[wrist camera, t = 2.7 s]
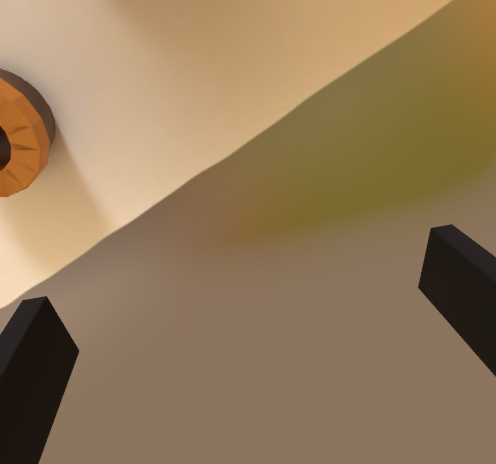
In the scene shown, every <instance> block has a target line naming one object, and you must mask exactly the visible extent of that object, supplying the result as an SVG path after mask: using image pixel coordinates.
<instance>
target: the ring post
mask: <svg viewBox="0 0 496 464" xmlns="http://www.w3.org/2000/svg"><path fill="white" fill-rule="evenodd" d="M0 78H1V79H3V80H4V81H5V82H7V83H8V84H10V85H11V86H12V87H14V88H15V89H17V90H18V91H19V92H21V93H22V94H23V95H24V96H25V97H26V98H27V100H28V101H29V102H30V104H31V105H32V106H33V107H34V109H35V110H36V111H37V113H38V114H39V115H40V116H41V118H42V120H43V123H44V126H45V129H46V132H47V135H48V138H49V141H50V145H51V144H52V142H53V139H54V135H55V123H54V118H53V115H52V112H51V110H50V108H49V106H48V104H47V103H46V101H45V100H44V98H43V97H42V96H41V95H40V93H39V92H38V91H37V90H36V89H35V88H34V87H33V86H31V85H30V84H29V83H28V82H26V81H25V80H23V79H22V78H20V77H18V76H17V75H15V74H13V73H10V72H8V71H5V70H2V69H0ZM49 147H50V146H49ZM10 160H11V144H10V142H9V139H8V137H7V134H6V132H5V131H4V130H3V128H2V127H1V126H0V165H4V164H6V163H8V162H9V161H10Z"/></svg>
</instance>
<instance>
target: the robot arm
mask: <svg viewBox="0 0 496 464" xmlns="http://www.w3.org/2000/svg"><path fill="white" fill-rule="evenodd" d="M418 288H419V289H420V290H421V291H422V293H423V294H424V295H425V296H426V297H427V298H428V299H429V301H430V302H431V303H432V304H433V305H434V306H435V307H436V309H437V310H438V311H439V312H440V313H441V314H442V315H443V317H444V318H445V319H446V320H447V321H448V322H449V323H450V325H451V326H452V327H453V328H454V329H455V330H456V332H457V333H458V334H459V335H460V336H461V337H462V338H463V340H464V341H465V342H466V343H467V344H468V345H469V347H471V349H472V350H473V351H474V352H475V353H476V355H477V356H478V357H479V358H480V359H481V360H482V361H483V362H484V364H485V365H486V366H487V367H488V368H489V369H490V371H491V372H492V373H493V374H494V375H495V376H496V257H495V256H493V255H492V254H491V253H489V252H488V251H487V250H485V249H484V248H483V247H481V246H480V245H478V244H477V243H476V242H475V241H473V240H472V239H471V238H469V237H468V236H467V235H465V234H464V233H463V232H461V231H460V230H459V229H457V228H456V227H454V226H453V225H452V224H451V225H446V226H441V227H435V228H431V230H430V235H429V239H428V244H427V249H426V253H425V258H424V263H423V267H422V272H421V277H420V281H419V286H418ZM78 354H79V349H78V348H77V346H76V344H75V343H74V341H73V339H72V338H71V336H70V334H69V333H68V331H67V329H66V328H65V326H64V324H63V323H62V321H61V319H60V318H59V316H58V314H57V313H56V311H55V309H54V308H53V306H52V304H51V303H50V301H49V299H48V298H47V296H45V297H39V298H33V299H28V300H23V301H22V302H21V304H20V305H19V307H18V308H17V310H16V311H15V313H14V314H13V316H12V318H11V319H10V321H9V322H8V324H7V325H6V327H5V329H4V330H3V332H2V333H1V335H0V464H38V463H39V460H40V458H41V455H42V452H43V450H44V447H45V444H46V441H47V438H48V436H49V433H50V430H51V428H52V425H53V422H54V419H55V417H56V414H57V411H58V408H59V406H60V403H61V400H62V397H63V395H64V392H65V389H66V386H67V383H68V381H69V378H70V375H71V373H72V370H73V367H74V364H75V361H76V359H77V356H78Z"/></svg>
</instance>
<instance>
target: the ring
mask: <svg viewBox="0 0 496 464" xmlns="http://www.w3.org/2000/svg"><path fill="white" fill-rule="evenodd" d="M0 126H1V127H2V128H3V130H4V131H5V132H6V134H7V137H8V139H9V142H10V144H11V160H10V161H9V162H8V163H6V164H4V165H0V197H8V196H10V195H12V194H14V193H17V192H19V191H21V190H23V189H25V188H27V187H28V186H29V185H30V184H31V183H32V182H33V181H34V180H35V179H36V177H37V176H38V175H39V173H40V172H41V171H42V169H43V168H44V167H45V165H46V164H47V162H48V155H49V146H50V141H49V138H48V135H47V132H46V129H45V126H44V123H43V120H42V118H41V116H40V115H39V114H38V113H37V111H36V110H35V109H34V107H33V106H32V105H31V104H30V102H29V101H28V100H27V98H26V97H25V96H24V95H23V94H22V93H21V92H19V91H18V90H17V89H15V88H14V87H12V86H11V85H10V84H8V83H7V82H5V81H4V80H3V79H1V78H0Z"/></svg>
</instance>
